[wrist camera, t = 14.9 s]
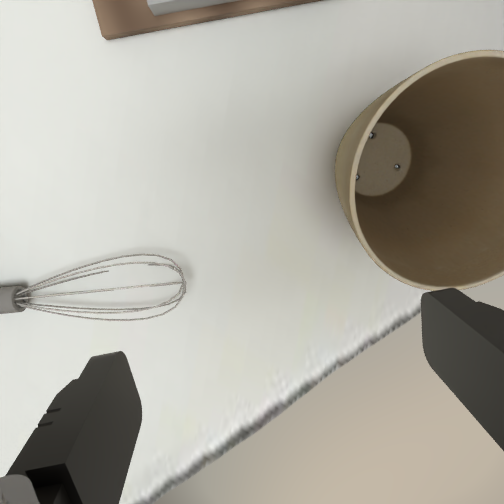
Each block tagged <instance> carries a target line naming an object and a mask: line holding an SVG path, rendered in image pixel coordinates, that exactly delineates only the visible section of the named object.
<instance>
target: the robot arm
mask: <svg viewBox="0 0 504 504" xmlns="http://www.w3.org/2000/svg"><path fill="white" fill-rule="evenodd" d="M421 317H422V339H423V349H424V353H425V356H426V359H427V361H428V363H429V365H430V366H431V368H432V369H433V370H434V371H435V372H436V374H437V375H438V376H439V377H440V378H441V379H442V380H443V382H444V383H445V384H446V385H447V386H448V387H449V389H450V390H451V391H452V392H453V393H454V394H455V395H456V397H457V398H458V399H459V400H460V401H461V402H462V403H463V405H464V406H465V407H466V408H467V409H468V410H469V412H470V413H471V414H472V415H473V416H474V417H475V418H476V420H477V421H478V422H479V423H480V424H481V425H482V427H483V428H484V429H485V430H486V431H487V432H488V433H489V435H490V436H491V437H492V438H493V439H494V440H495V442H496V443H497V444H498V445H499V446H500V447H501V448H502V449H503V451H504V311H503V310H502V309H499V308H497V307H494V306H491V305H488V304H485V303H482V302H475V301H474V300H472V299H471V298H469V297H468V296H466V295H465V294H463V293H462V292H460V291H459V290H458V289H456V288H447V289H442V290H436V291H431V292H426V293H424V294H423V295H422V297H421ZM141 422H142V406H141V400H140V397H139V394H138V391H137V388H136V385H135V382H134V379H133V376H132V373H131V370H130V367H129V364H128V360H127V358H126V356H125V354H124V353H123V352H122V351H119V352H114V353H108V354H103V355H98V356H93V357H91V358H90V360H89V361H88V363H87V365H86V367H85V368H84V370H83V372H82V373H81V375H80V377H79V379H75V380H72V381H71V382H70V383H69V384H68V385H67V386H66V387H65V388H63V389H62V390H61V391H60V392H59V393H58V394H57V395H56V396H55V398H54V400H53V401H52V403H51V404H50V406H49V408H48V409H47V414H44V415H43V417H42V419H41V420H40V422H39V423H38V428H35V430H34V431H33V433H32V434H31V436H30V438H29V439H28V441H27V442H26V444H25V446H24V447H23V449H22V450H21V452H20V454H19V455H18V457H17V458H16V460H15V461H14V463H13V465H12V466H11V468H10V469H9V471H8V473H7V474H6V476H4V477H1V478H0V504H119V501H120V497H121V494H122V490H123V487H124V483H125V480H126V476H127V472H128V469H129V465H130V462H131V458H132V455H133V451H134V448H135V444H136V440H137V437H138V433H139V430H140V426H141Z"/></svg>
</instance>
